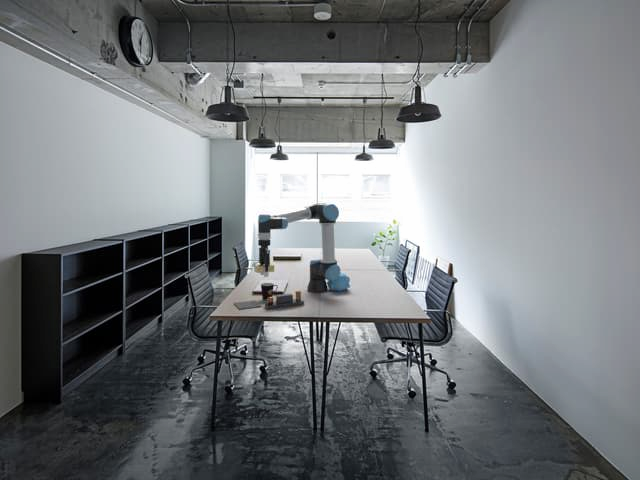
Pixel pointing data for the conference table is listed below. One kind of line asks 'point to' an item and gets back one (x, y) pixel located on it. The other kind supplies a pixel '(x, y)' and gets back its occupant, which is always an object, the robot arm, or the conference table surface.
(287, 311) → the conference table surface
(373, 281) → the conference table surface
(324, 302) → the conference table surface
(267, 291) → the coffee mug
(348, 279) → the decorative pot
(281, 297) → the hand plane
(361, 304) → the conference table surface
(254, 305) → the rubber mat
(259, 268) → the tan rectangular brick
